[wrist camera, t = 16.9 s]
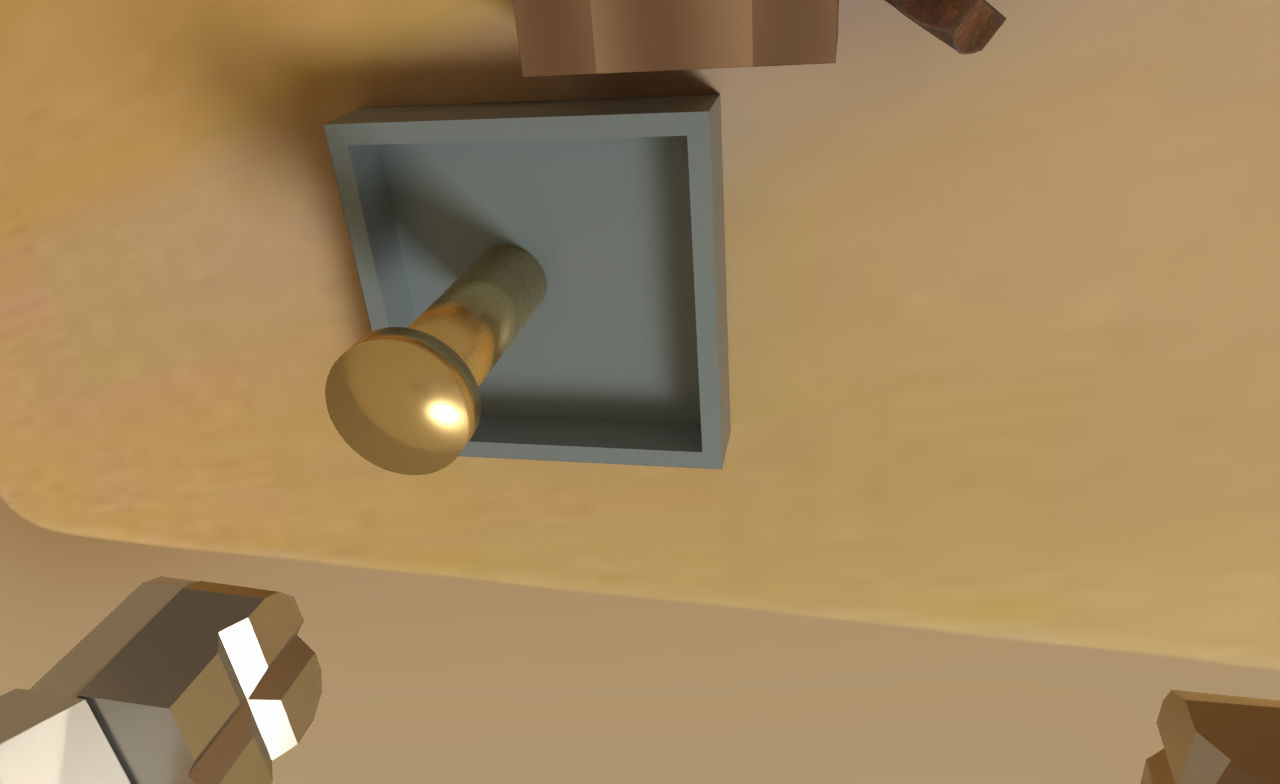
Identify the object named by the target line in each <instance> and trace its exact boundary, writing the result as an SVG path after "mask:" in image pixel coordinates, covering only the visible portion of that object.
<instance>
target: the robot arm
mask: <svg viewBox="0 0 1280 784" xmlns="http://www.w3.org/2000/svg"><path fill="white" fill-rule="evenodd" d="M303 622H304V620H303V617H302V615H301V613H300V610H299V608H298V605H297V603H296V601H295V598H294V596H290V595H287V594H284V593H281V592H276V591H269V590H262V589H255V588H248V587H240V586H233V585H226V584H219V583H211V582H205V581H199V582H198V581H190V580H184V579H177V578H169V577H163V576H161V577H158V578H155V579H152V580H149V581H147V582H144V583H142V584H141V585H140V586H139V587H138V588H137V589H136V590H135V591H134V592H132V594H130V595H129V596H128V597H127V598H126V599H125V600H124V601H123V602H122V603H121V604H120V605H119V606H118V607H117V608H115V610H113V612H111V613H110V614H109V615H108V616H107V617H106V618H105V619H104V620H103V621H102V622H101V623H100V624H99V625H97V626H96V627H95V628H94V629H93V630H92V631H91V632H90V633H89V634H88V635H87V636H86V637H85V638H84V639H83V640H81V641H80V643H78V644H77V645H76V646H75V647H74V648H73V649H72V650H71V651H70V652H69V653H68V654H67V655H66V656H64V657H63V658H62V659H61V660H60V661H59V662H58V663H57V664H56V665H55V666H54V667H53V668H52V669H51V670H50V671H49V672H48V673H46V674H45V675H44V677H42V678H41V679H40V680H39V681H38V682H37V683H36V684H35V685H34V686H33V687H32V688H31V689H29V690H24V689H14V690H12V691H10V692H8V693H6V694H4V695H2V696H0V784H271V783H272V781H273V780H272V760H273V759H275V758H276V757H278V756H280V755H281V754H283V753H284V752H286V751H288V750H289V749H291V748H292V747H294V746H296V745H297V744H298V743H299V741H300V740H301V738H302V737H303V735H304V734H305V732H306V730H307V729H308V727H309V726H310V724H311V723H312V721H313V719H314V716H315V713H316V709H317V706H318V702H319V699H320V696H321V693H322V684H321V669H320V666H319V663H318V660H317V657H316V654H315V652H314V651H313V650H312V649H311V648H310V647H309V646H308V645H307V644H306V643H305V642H303V641H302V640H301V639H300V638H299V637H298V636H297V633H298V631H299V629H300V627H301V625H302V624H303ZM1157 725H1158V729H1159V732H1160V735H1161V738H1162V742H1163V745H1164V749H1162V750H1161V751H1159V752H1158V753H1156V754H1155V755H1153V756H1151V757H1149V758H1148V759H1147V760H1146V763H1145V767H1144V772H1143V776H1142V780H1141V784H1280V701H1277V700H1267V699H1257V698H1248V697H1238V696H1228V695H1217V694H1208V693H1198V692H1188V691H1179V690H1171V691H1170V693H1169V694H1168V695H1167V696H1166V698H1165V699H1164V700H1163V703H1162V706H1161V709H1160V713H1159V716H1158V719H1157Z"/></svg>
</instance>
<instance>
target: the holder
mask: <svg viewBox="0 0 1280 784" xmlns="http://www.w3.org/2000/svg"><path fill="white" fill-rule="evenodd" d="M513 4H514V12H515V20H516V28H517V35H518V43H519V51H520V58H521V66H522V74H523V77H533V76H555V75H578V74H600V73H623V72H645V71H668V70H691V69H713V68H736V67H758V66H781V65H803V64H826V63H835V62H836V51H837V41H838V7H839V0H513Z"/></svg>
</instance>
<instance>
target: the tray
mask: <svg viewBox="0 0 1280 784" xmlns="http://www.w3.org/2000/svg"><path fill="white" fill-rule="evenodd" d="M324 129H325V133H326V138H327V142H328V146H329V150H330V155H331V159H332V163H333V167H334V172H335V176H336V180H337V184H338V189H339V193H340V197H341V201H342V206H343V210H344V214H345V218H346V223H347V227H348V231H349V235H350V240H351V244H352V248H353V252H354V257H355V261H356V265H357V269H358V274H359V278H360V282H361V286H362V291H363V295H364V299H365V303H366V308H367V312H368V316H369V320H370V325H371V329H372V331H375V330H378V329H382V328H387V327H404V328H408V327H409V326H410V325H411V324H412V323H413V322H414V321H415V320H416V319H417V318H418V317H419V316H420V315H421V314H422V313H423V312H424V311H425V310H426V309H427V308H428V307H429V306H430V305H431V304H432V303H433V302H434V301H435V300H436V299H437V298H438V297H439V296H440V295H441V294H442V293H443V292H444V291H445V290H446V289H447V288H448V287H449V286H450V285H451V284H452V283H453V282H454V281H456V280H457V279H458V278H459V277H460V276H461V275H462V274H463V273H464V272H465V271H466V270H467V269H468V268H469V267H470V266H471V265H472V264H473V263H474V262H475V261H476V260H477V259H478V258H479V257H480V256H481V255H482V254H483V253H484V252H485V251H486V250H488V249H490V248H491V247H494V246H497V245H514V246H517V247H520V248H522V249H524V250H526V251H528V252H529V253H530V254H532V255H533V256H534V257H535V258H536V259H537V260H538V262H539V263H540V264H541V266H542V268H543V270H544V272H545V275H546V280H547V291H546V295H545V298H544V300H543V302H542V303H541V304H540V306H539V307H538V308H537V310H536V311H535V312H534V314H533V315H532V316H531V318H530V319H529V320H528V322H527V323H526V324H525V326H524V327H523V328H522V330H521V331H520V332H519V334H518V335H517V336H516V338H515V339H514V340H513V342H512V343H511V344H510V346H509V347H508V348H507V350H506V351H505V352H504V354H503V355H502V356H501V358H500V359H499V360H498V362H497V363H496V364H495V366H494V367H493V368H492V370H491V371H490V372H489V374H488V375H487V376H486V378H485V379H484V380H483V382H482V383H481V384H480V386H479V387H478V388H479V392H480V396H481V416H480V421H479V424H478V426H477V429H476V430H475V432H474V434H473V435H472V437H471V438H470V440H469V441H468V443H467V444H466V446H465V447H464V448H463V450H462V451H461V453H460V454H459V455H458V456H466V457H486V458H506V459H526V460H545V461H565V462H585V463H605V464H625V465H644V466H664V467H684V468H704V469H722V468H723V463H724V459H725V454H726V450H727V445H728V441H729V436H730V405H729V372H728V339H727V306H726V273H725V240H724V207H723V175H722V142H721V109H720V94H716V95H690V96H664V97H637V98H611V99H585V100H559V101H533V102H506V103H480V104H454V105H428V106H402V107H375V108H360V109H357V110H355V111H353V112H351V113H348V114H346V115H344V116H342V117H339V118H337V119H335V120H333V121H330V122H328V123H326V124H324Z"/></svg>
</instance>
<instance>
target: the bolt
mask: <svg viewBox="0 0 1280 784" xmlns="http://www.w3.org/2000/svg"><path fill="white" fill-rule="evenodd" d="M885 1H887V2H888V3H889V4H891V5H892V6H894V7H895V8H896V9H897V10H899V11H900V12H901V13H902V14H904V15H905V16H906V17H908V18H909V19H911V20H912V21H913V22H915V23H916V24H918V25H919V26H921V27H922V28H924V29H925V30H927V31H928V32H930V33H931V34H932V35H934V36H935V37H937V38H938V39H940V40H941V41H943V42H944V43H946V44H947V45H949V46H950V47H952V48H953V49H955V50H956V51H957V52H958V53H961V54H972V53H975V52H978V51H981V50H982V49H983V48H984V47H985V45H986V44H987V43H988V42H989V40H990V39H991V38H992V37H993V35H994V34H995V33H996V31H997V30H998V29H999V28H1000V26H1001V25H1002V24H1003V23H1004V21H1005V20H1006V18H1005V17H1004V16H1003V15H1002V14H1001V13H999V12H998V11H997V10H996V9H995V8H994V7H992V6H991V5H990V4H989V3H988V2H987V1H985V0H885Z"/></svg>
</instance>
